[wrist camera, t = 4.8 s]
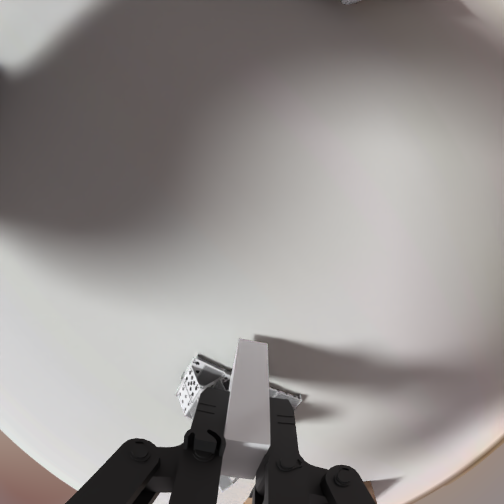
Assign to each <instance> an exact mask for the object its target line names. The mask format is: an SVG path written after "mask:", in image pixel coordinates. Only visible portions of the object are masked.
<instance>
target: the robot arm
mask: <svg viewBox="0 0 504 504" xmlns="http://www.w3.org/2000/svg"><path fill="white" fill-rule="evenodd" d="M220 475H223V476H229V477H237V478H245V479H254V478H255V476H256V484H255V486H254V488H253V489H252V491H251V493H250V496H249V498H252V504H376V503H375V501H374V499H373V498H372V496H371V494H370V493H369V491H368V489H367V487H366V486H365V484H364V482H363V481H362V479H361V477H360V476H359V474H358V473H357V472H356V470H355V469H353V468H351V467H350V466H346V465H336V466H334V467H332V468H330V469H329V470H327V469H323V468H319V467H315V466H313V465H310V464H308V463H307V462H305V461H304V459H303V458H302V457H301V456H300V454H299V451H298V442H297V434H296V425H295V418H294V409H293V406H292V405H291V403H290V402H289V400H288V399H280V398H272V397H269V367H268V343H263V342H257V341H251V340H246V339H241V338H239V341H238V345H237V350H236V355H235V359H234V364H233V369H232V373H231V378H230V384H229V391H225V390H219V389H215V388H210V387H207V388H206V389H205V390H204V391H203V392H202V393H201V394H200V397H199V401H198V404H197V408H196V412H195V415H194V419H193V422H192V426H191V429H190V430H188V431H187V432H186V434H185V436H184V443H183V444H181V445H179V446H176V447H156V446H155V445H154V444H153V443H151V442H150V441H147V440H145V439H138V438H135V439H130V440H128V441H126V442H125V443H123V444H122V446H121V447H120V448H119V449H118V450H117V451H116V452H115V453H114V454H113V455H112V456H111V457H110V458H109V459H108V460H107V461H106V463H105V464H104V465H103V466H102V467H101V468H100V469H99V470H98V471H97V472H96V473H95V474H94V475H93V476H92V477H91V478H90V479H89V480H88V481H87V482H86V483H85V484H84V485H83V486H82V487H81V488H80V489H79V490H78V491H77V492H76V493H75V494H74V495H73V496H72V498H70V499H69V501H67V502H66V503H65V504H152V503H153V502H154V500H155V499H156V498H157V496H158V495H159V493H160V492H172V493H171V497H170V500H169V504H216V503H217V496H218V488H219V481H220Z"/></svg>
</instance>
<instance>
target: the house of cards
mask: <svg viewBox="0 0 504 504" xmlns="http://www.w3.org/2000/svg"><path fill="white" fill-rule="evenodd" d="M231 373H232V372H230V371H228V370H225V369H224V368H222V367H220V366H217V365H215V364H213V363H211V362H209V361H207V360H204V359H202V358H200V357H198V355H197V357H196V358H194V357H193V359H192V360H191V362H190V364H189V366H188V368H187V370H186V371H185V372H184V373H183V375H182V377H181V379H182V381H181V383H180V385H179V386H178V388H177V389H178V390H177V392H176V393H175V396H176V397H178V398H179V401H180V404H181V407H182V410H183V412H184V415H185V417H188V418H190V419H192V420H193V419H194V415H195V412H196V408H197V404H198V401H199V397H200V394H201V393H202V392H203V391H204V390H205V389H206V388H207V387H210V388H215V389H219V390H225V391H229V384H230V378H231ZM269 397H272V398H280V399H288V400H289V402H290V403H291V405H292V406H293V409H294V410H295V409H296V408H297V406H298V405H299V403H300V402H301V401H302V400H301V394H300V395H299V396H295V395H292V394H289V393H286V392H283V391H280V390H278V389H275V388H272V387H269ZM192 403H193V404H192ZM238 479H239V478H237V477H236V478H235V479H234V480H233V481H231V479H230V477H229V476H223V475H220V481H219V488H220V490H221V492H223V491H224V490H226V489H227V488H229V487H230V486H232V485H233V484H234V483H235V482H236V481H237V480H238Z"/></svg>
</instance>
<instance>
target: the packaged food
mask: <svg viewBox="0 0 504 504" xmlns="http://www.w3.org/2000/svg"><path fill="white" fill-rule="evenodd" d="M358 1H361V0H341V2H342V3H343V4H352V3H357V2H358Z"/></svg>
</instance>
